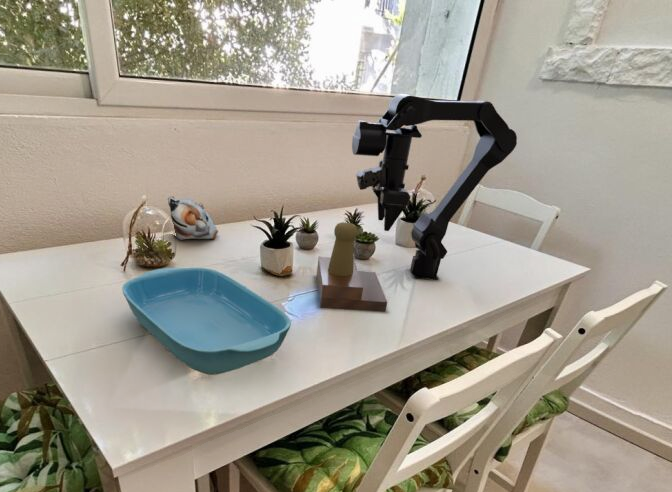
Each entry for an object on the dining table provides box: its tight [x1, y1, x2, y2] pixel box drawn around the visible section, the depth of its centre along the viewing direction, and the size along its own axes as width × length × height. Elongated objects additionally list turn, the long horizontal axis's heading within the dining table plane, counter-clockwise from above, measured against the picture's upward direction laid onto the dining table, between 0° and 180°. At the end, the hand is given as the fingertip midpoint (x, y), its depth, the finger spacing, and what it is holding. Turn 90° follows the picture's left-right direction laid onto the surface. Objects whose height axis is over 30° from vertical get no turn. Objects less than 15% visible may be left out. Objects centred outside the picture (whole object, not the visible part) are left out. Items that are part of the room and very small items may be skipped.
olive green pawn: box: [328, 221, 359, 276], centre depth 105 cm, size 6×6×11 cm
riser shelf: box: [315, 256, 388, 313], centre depth 110 cm, size 15×18×6 cm
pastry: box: [264, 265, 293, 277], centre depth 119 cm, size 9×7×4 cm
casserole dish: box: [121, 267, 292, 376], centre depth 87 cm, size 37×22×7 cm, turn 41°
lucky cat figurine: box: [167, 195, 219, 241], centre depth 132 cm, size 15×12×14 cm
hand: (383, 225), depth 116 cm, fingers open, 9 cm apart
